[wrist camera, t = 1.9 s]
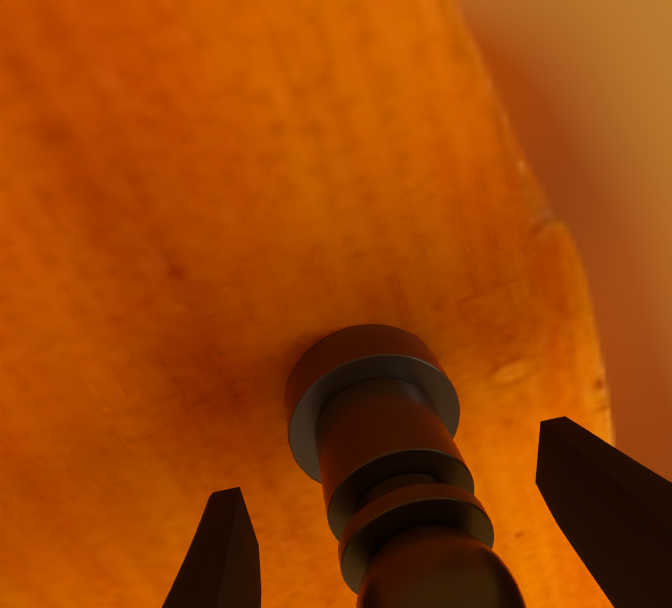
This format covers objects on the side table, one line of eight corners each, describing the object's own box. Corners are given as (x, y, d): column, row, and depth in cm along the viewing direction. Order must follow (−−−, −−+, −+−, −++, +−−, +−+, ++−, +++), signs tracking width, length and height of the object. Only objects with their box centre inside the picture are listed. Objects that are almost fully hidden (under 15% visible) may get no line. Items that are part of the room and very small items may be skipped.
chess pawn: (394, 468, 16) (509, 796, 9) (260, 432, 14) (264, 796, 7) (469, 353, 14) (687, 641, 7) (327, 301, 13) (419, 598, 6)
